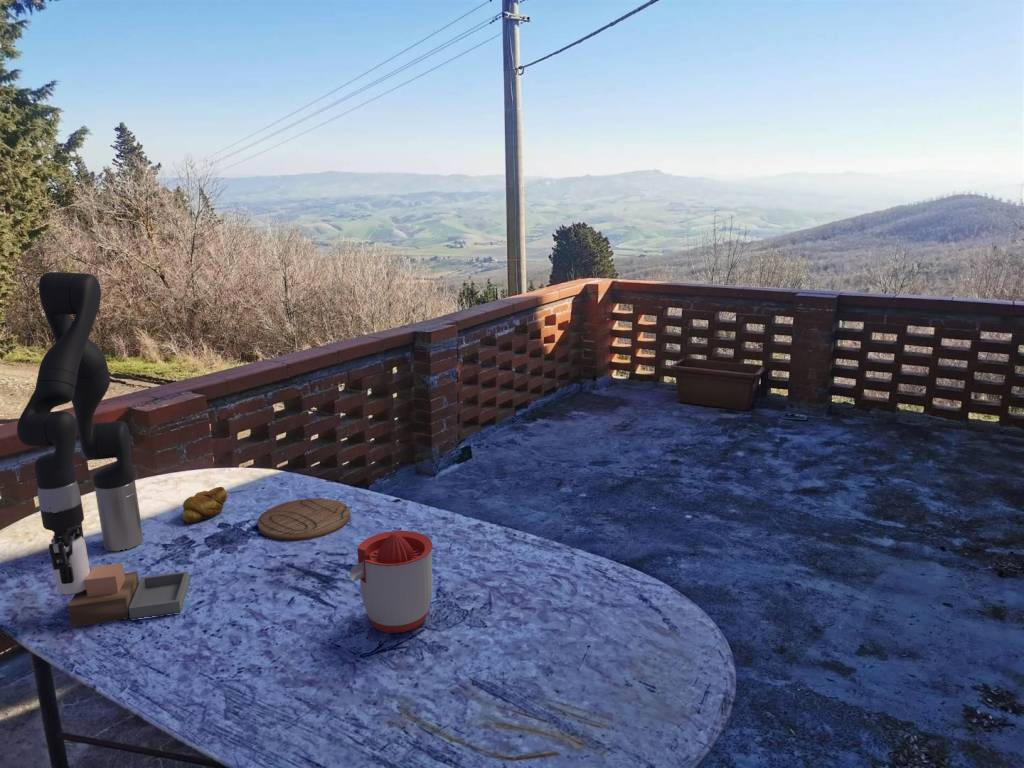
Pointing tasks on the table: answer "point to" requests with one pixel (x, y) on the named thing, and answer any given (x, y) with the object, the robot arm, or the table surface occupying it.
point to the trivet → (304, 519)
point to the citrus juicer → (395, 579)
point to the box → (159, 595)
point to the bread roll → (204, 505)
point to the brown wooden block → (103, 604)
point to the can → (75, 568)
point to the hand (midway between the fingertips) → (72, 574)
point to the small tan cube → (105, 580)
